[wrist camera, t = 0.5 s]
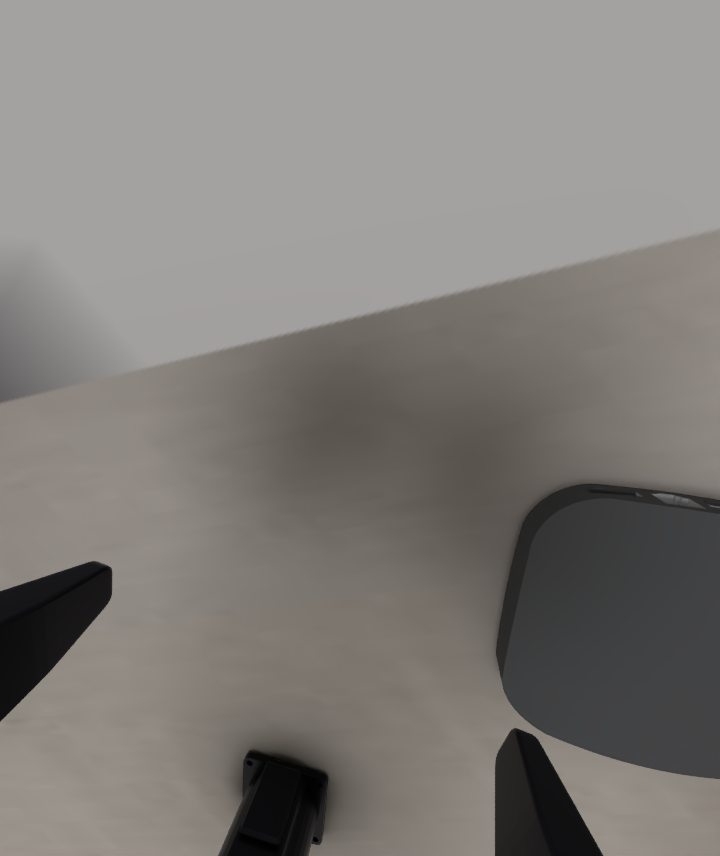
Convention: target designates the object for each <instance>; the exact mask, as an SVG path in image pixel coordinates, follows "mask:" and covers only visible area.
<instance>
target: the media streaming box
mask: <svg viewBox="0 0 720 856" xmlns="http://www.w3.org/2000/svg"><path fill="white" fill-rule="evenodd" d="M707 501H708V502H707ZM713 502H714V503H713ZM719 503H720V500H715V499H709V498H702V497H696V496H689V495H683V494H676V493H669V492H661V491H653V490H645V489H637V488H628V487H618V486H608V485H597V484H583V485H577V486H573V487H569V488H566V489H563V490H560V491H558V492H556V493H554V494H552V495H550V496H548V497H547V498H545V499H544V500H543V501H541V502H540V503H539V504H538V505H537V506H536V507H535V508H534V509H533V510H532V511H531V512H530V513H529V515H528V516H527V518H526V520H525V521H524V523H523V526H522V529H521V533H520V536H519V540H518V544H517V547H516V551H515V555H514V559H513V563H512V567H511V571H510V576H509V580H508V585H507V589H506V594H505V599H504V604H503V610H502V616H501V621H500V628H499V635H498V642H497V650H496V653H497V660H498V665H499V670H500V675H501V680H502V684H503V689H504V692H505V694H506V696H507V698H508V700H509V702H510V703H511V705H512V706H513V707H514V709H515V710H516V711H517V712H518V713H519V714H520V715H521V716H522V717H523V718H524V719H525V720H526V721H528V722H529V723H530V724H531V725H533V726H534V727H536V728H537V729H539V730H540V731H542V732H544V733H545V734H547V735H550V736H552V737H555V738H557V739H559V740H562V741H564V742H567V743H569V744H572V745H575V746H577V747H580V748H583V749H585V750H588V751H591V752H594V753H597V754H600V755H603V756H606V757H610V758H613V759H616V760H620V761H623V762H627V763H631V764H635V765H638V766H643V767H647V768H651V769H656V770H661V771H666V772H671V773H677V774H683V775H689V776H697V777H705V778H715V779H720V504H719Z"/></svg>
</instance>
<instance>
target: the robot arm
mask: <svg viewBox="0 0 720 856" xmlns="http://www.w3.org/2000/svg"><path fill="white" fill-rule="evenodd" d="M111 595H112V569H111V567H109V566H107V565H105V564H102V563H100V562H96V561H92V562H88V563H85V564H82V565H79V566H76V567H73V568H70V569H67V570H64V571H61V572H58V573H54V574H51V575H48V576H45V577H42V578H39V579H36V580H33V581H30V582H27V583H24V584H21V585H18V586H15V587H12V588H9V589H6V590H3V591H0V721H1V720H2V719H3V718H4V717H5V716H6V715H7V714H8V713H9V712H10V711H11V710H12V709H13V708H14V707H15V706H16V705H17V704H18V703H19V702H20V701H21V700H22V699H23V698H24V697H25V696H26V695H27V694H28V693H29V692H30V691H31V690H32V689H33V688H34V687H35V686H36V685H37V684H38V683H39V682H40V681H41V680H42V679H43V678H44V677H45V676H46V675H47V674H48V673H49V672H50V671H51V669H52V668H53V667H54V666H55V665H56V664H57V663H58V662H59V661H60V659H61V658H62V657H63V656H64V655H65V654H66V652H67V651H68V650H69V649H70V648H71V646H72V645H73V644H74V643H75V642H76V641H77V639H78V638H79V637H80V636H81V635H82V634H83V632H84V631H85V630H86V629H87V628H88V627H89V625H90V624H91V623H92V622H93V621H94V619H95V618H96V617H97V616H98V615H99V614H100V612H101V611H102V610H103V609H104V608H105V607H106V605H107V604H108V602H109V601H110V598H111ZM327 785H328V778H327V777H326V776H325V775H324V774H322V773H319V772H315V771H312V770H309V769H305V768H302V767H299V766H296V765H292V764H289V763H286V762H282V761H279V760H276V759H272V758H269V757H266V756H262V755H259V754H256V753H252V752H249V753H247V754H246V757H245V759H244V767H243V799H242V802H241V804H240V806H239V809H238V811H237V813H236V816H235V818H234V820H233V823H232V825H231V827H230V830H229V832H228V834H227V837H226V839H225V841H224V844H223V846H222V848H221V851H220V853H219V855H218V856H308V855H309V851H310V847H311V843H312V844H316V845H319V844H321V842H322V837H323V830H324V819H325V808H326V797H327ZM495 856H603V854H602V853H601V851H600V849H599V847H598V846H597V844H596V842H595V840H594V838H593V837H592V835H591V833H590V831H589V830H588V828H587V826H586V824H585V822H584V821H583V819H582V817H581V815H580V813H579V812H578V810H577V808H576V806H575V805H574V803H573V801H572V799H571V797H570V796H569V794H568V792H567V790H566V789H565V787H564V785H563V783H562V781H561V780H560V778H559V776H558V774H557V773H556V771H555V769H554V767H553V765H552V764H551V762H550V760H549V758H548V756H547V755H546V753H545V751H544V749H543V748H542V746H541V744H540V742H539V741H538V739H537V738H536V737H535V736H533V735H532V734H530V733H527V732H525V731H522V730H519V729H517V728H514V729H512V730H511V731H510V733H509V734H508V736H507V738H506V739H505V741H504V743H503V745H502V746H501V748H500V750H499V751H498V754H497V757H496V763H495Z"/></svg>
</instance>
